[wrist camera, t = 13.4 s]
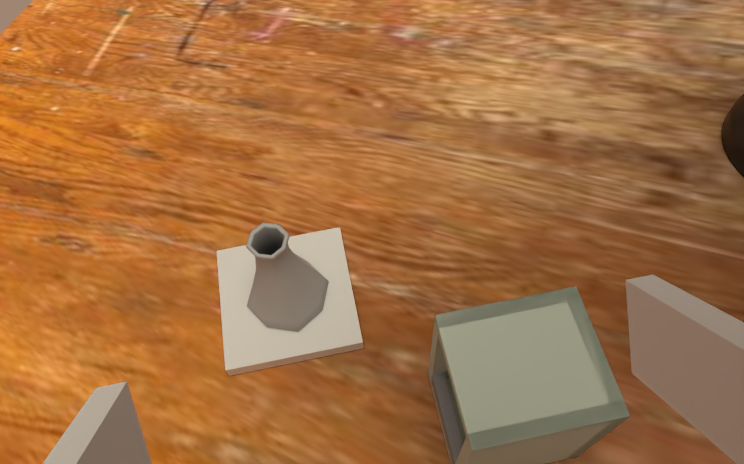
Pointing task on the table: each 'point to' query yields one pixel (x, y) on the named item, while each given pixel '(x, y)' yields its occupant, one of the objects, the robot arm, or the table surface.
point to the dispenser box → (522, 381)
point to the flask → (283, 281)
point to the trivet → (278, 346)
